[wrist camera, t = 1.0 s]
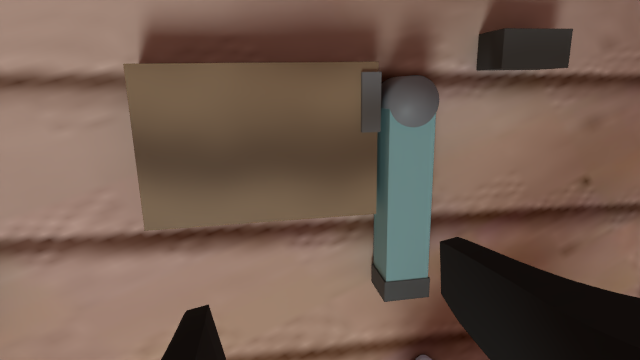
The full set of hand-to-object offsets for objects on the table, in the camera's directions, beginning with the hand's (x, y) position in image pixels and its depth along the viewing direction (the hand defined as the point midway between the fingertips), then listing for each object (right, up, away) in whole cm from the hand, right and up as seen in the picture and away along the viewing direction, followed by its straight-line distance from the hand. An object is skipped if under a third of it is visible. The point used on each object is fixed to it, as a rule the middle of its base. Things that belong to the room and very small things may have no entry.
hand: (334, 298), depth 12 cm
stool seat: (+2, +7, +11) cm, 13 cm away
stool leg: (+4, +3, +12) cm, 13 cm away
